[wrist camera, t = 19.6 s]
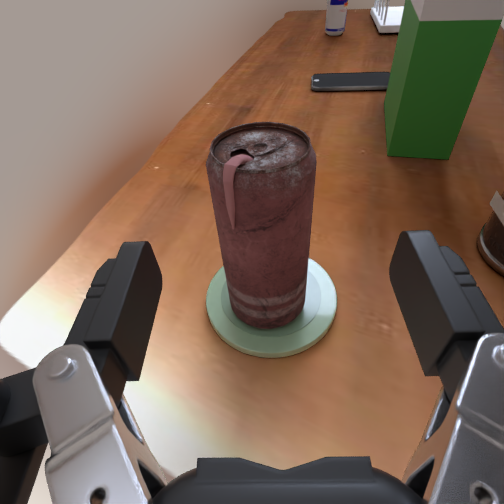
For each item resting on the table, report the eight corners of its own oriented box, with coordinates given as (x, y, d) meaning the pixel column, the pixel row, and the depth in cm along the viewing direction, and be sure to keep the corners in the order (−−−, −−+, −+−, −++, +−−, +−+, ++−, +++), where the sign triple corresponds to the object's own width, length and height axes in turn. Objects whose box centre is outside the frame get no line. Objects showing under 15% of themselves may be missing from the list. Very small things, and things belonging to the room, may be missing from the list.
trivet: (301, 242, 34) (301, 235, 33) (362, 330, 26) (364, 323, 26) (194, 273, 32) (193, 267, 31) (228, 379, 24) (226, 373, 24)
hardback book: (383, 103, 57) (426, -104, 40) (431, 105, 55) (497, -110, 38) (387, 155, 45) (450, -109, 28) (448, 159, 43) (554, -119, 26)
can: (216, 321, 27) (178, 163, 17) (248, 266, 31) (233, 112, 21) (289, 346, 25) (294, 184, 15) (313, 284, 29) (330, 124, 19)
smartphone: (311, 73, 67) (390, 71, 65) (311, 77, 68) (389, 75, 66) (311, 87, 62) (397, 85, 60) (311, 91, 62) (396, 89, 60)
